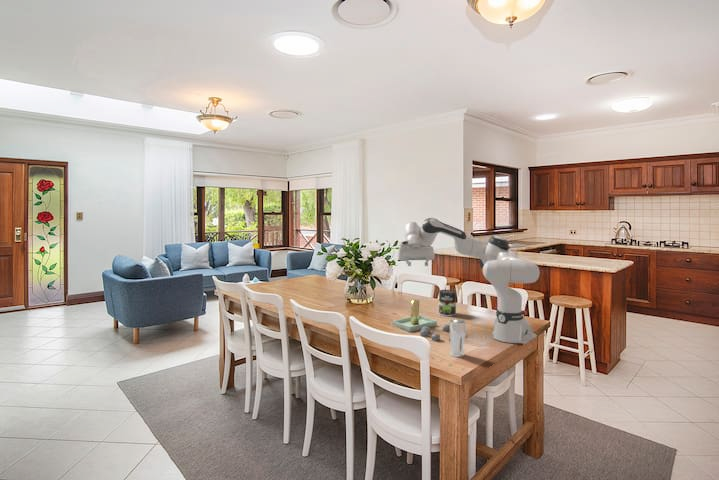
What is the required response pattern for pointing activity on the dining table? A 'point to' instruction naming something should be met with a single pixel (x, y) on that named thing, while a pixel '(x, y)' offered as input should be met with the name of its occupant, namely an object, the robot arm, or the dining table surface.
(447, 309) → the coffee can
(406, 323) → the tray
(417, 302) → the gold metal cylinder
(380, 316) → the dining table surface
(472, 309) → the dining table surface
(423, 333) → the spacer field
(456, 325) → the beer glass
